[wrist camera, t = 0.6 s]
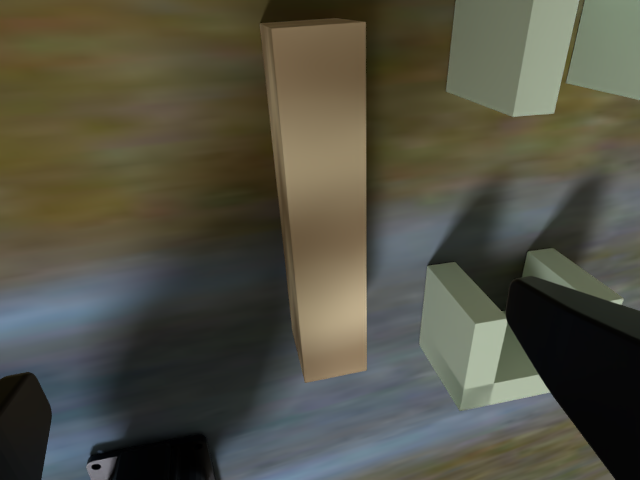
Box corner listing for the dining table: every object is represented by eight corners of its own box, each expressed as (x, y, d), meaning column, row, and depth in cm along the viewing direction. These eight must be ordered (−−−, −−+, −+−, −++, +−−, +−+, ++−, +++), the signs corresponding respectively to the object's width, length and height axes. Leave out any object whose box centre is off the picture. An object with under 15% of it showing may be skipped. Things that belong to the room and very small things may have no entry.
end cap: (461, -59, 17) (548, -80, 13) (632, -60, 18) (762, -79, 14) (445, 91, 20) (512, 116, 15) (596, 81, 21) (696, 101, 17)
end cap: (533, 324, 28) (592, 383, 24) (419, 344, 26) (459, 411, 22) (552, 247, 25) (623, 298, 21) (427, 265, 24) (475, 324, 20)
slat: (344, 318, 25) (366, 370, 21) (291, 328, 24) (305, 382, 21) (335, 17, 17) (365, 21, 14) (259, 22, 17) (271, 28, 14)
